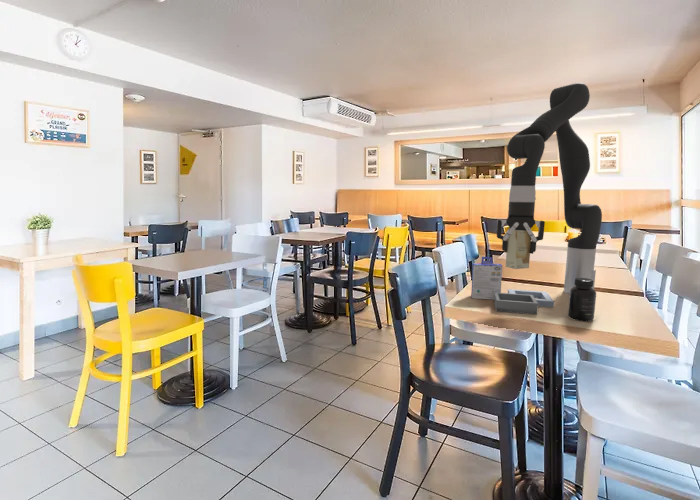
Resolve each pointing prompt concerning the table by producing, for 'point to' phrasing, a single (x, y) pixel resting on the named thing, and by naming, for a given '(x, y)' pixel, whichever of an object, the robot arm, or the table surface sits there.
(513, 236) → the skincare box
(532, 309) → the parts tray
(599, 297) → the table surface
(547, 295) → the socket block
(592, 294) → the supplement bottle
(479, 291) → the ink cartridge box
